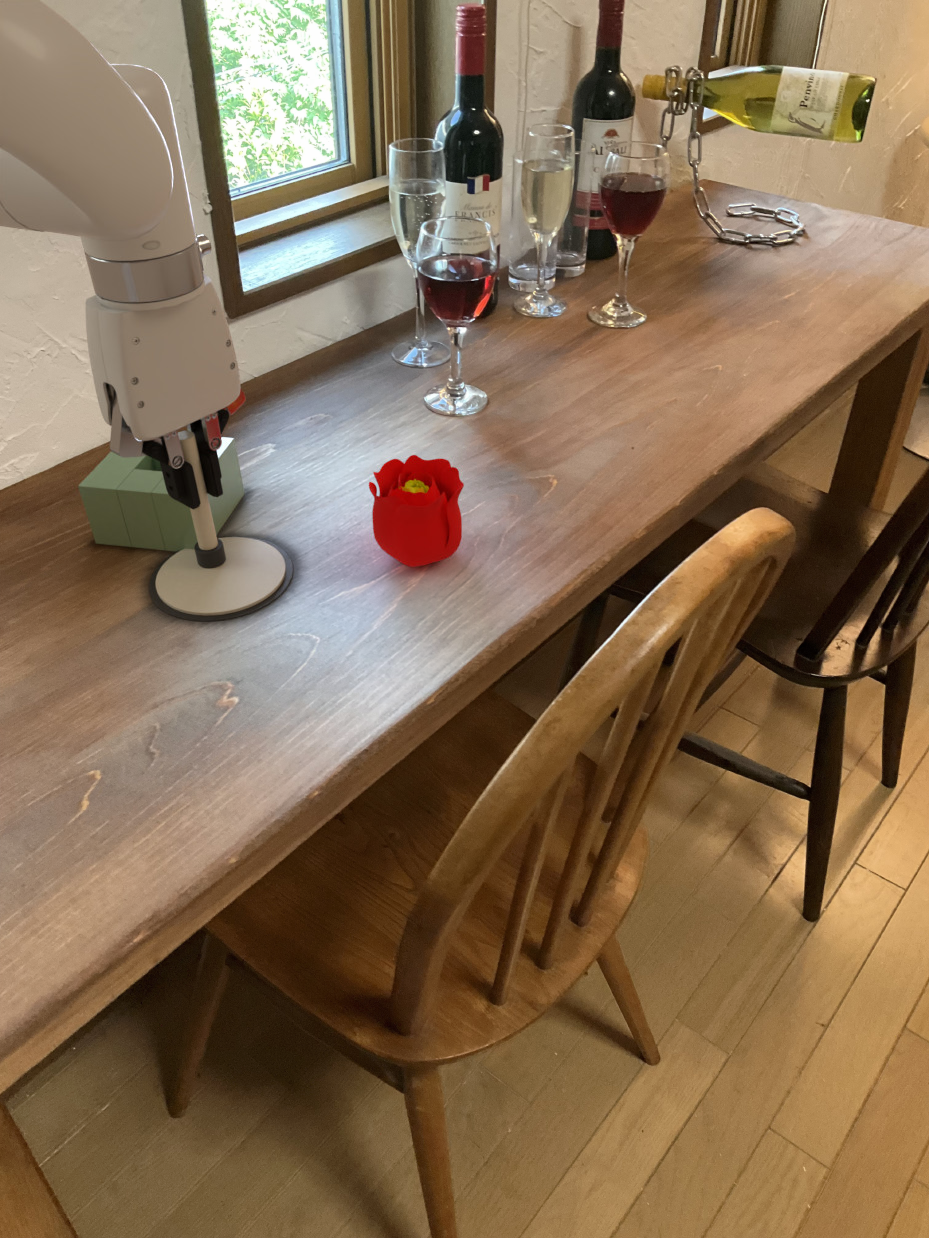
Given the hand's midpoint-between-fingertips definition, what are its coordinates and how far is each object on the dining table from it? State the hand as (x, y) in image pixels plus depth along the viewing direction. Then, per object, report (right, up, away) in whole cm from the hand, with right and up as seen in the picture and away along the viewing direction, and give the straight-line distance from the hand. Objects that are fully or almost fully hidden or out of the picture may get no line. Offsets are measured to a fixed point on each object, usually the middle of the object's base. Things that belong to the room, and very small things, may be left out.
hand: (197, 495), depth 78 cm
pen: (0, -5, +4) cm, 7 cm away
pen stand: (-5, -1, +10) cm, 11 cm away
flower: (+18, -5, +5) cm, 19 cm away
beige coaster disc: (+1, -7, +3) cm, 7 cm away
